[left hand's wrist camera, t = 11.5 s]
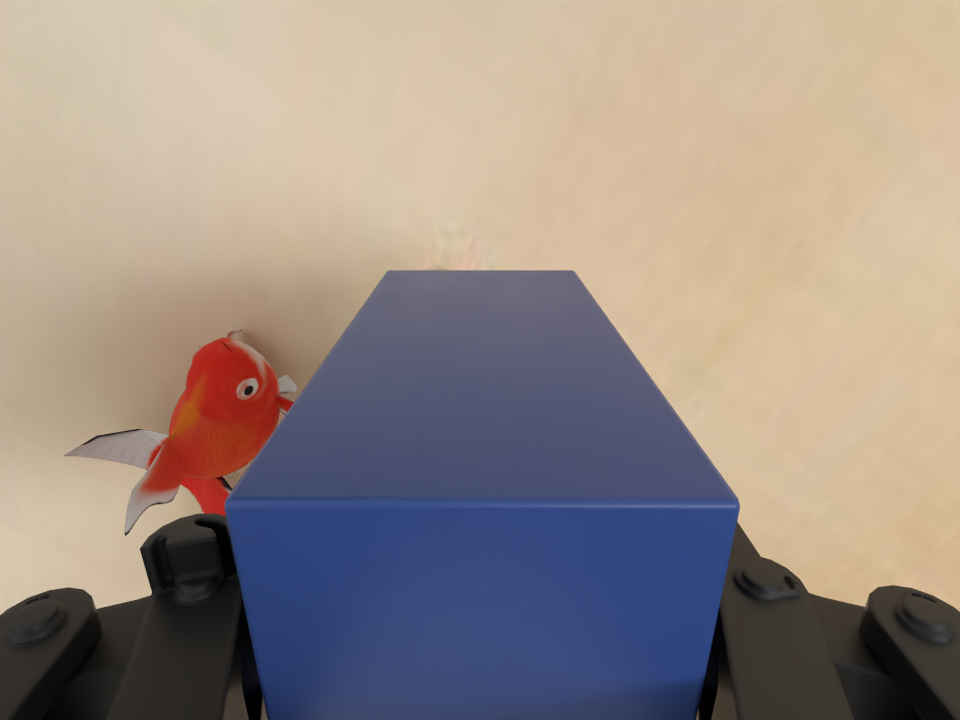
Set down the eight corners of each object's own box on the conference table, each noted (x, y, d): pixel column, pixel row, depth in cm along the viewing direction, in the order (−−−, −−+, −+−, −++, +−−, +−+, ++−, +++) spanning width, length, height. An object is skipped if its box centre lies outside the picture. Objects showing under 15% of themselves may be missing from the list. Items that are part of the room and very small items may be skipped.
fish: (429, 436, 26) (252, 591, 18) (313, 535, 36) (169, 660, 29) (281, 264, 26) (50, 348, 19) (208, 411, 37) (40, 503, 29)
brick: (400, 489, 18) (303, 912, 8) (386, 269, 16) (218, 501, 6) (560, 489, 18) (658, 912, 8) (574, 269, 16) (745, 502, 6)
